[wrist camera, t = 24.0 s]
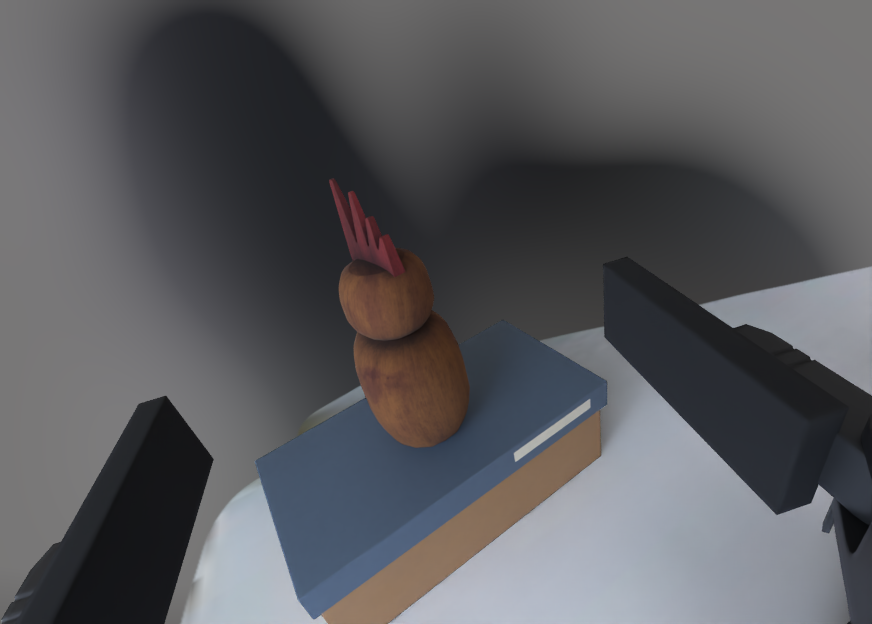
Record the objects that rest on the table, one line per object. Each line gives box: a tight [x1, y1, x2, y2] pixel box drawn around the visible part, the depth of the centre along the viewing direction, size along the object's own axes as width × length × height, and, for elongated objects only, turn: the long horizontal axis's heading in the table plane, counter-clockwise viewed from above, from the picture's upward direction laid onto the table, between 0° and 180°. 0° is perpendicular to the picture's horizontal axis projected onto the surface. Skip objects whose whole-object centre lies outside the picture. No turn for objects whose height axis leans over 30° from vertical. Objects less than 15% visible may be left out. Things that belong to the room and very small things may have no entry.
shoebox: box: [255, 320, 607, 624], centre depth 29 cm, size 20×10×7 cm, turn 122°
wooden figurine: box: [329, 179, 470, 448], centre depth 23 cm, size 7×6×15 cm
